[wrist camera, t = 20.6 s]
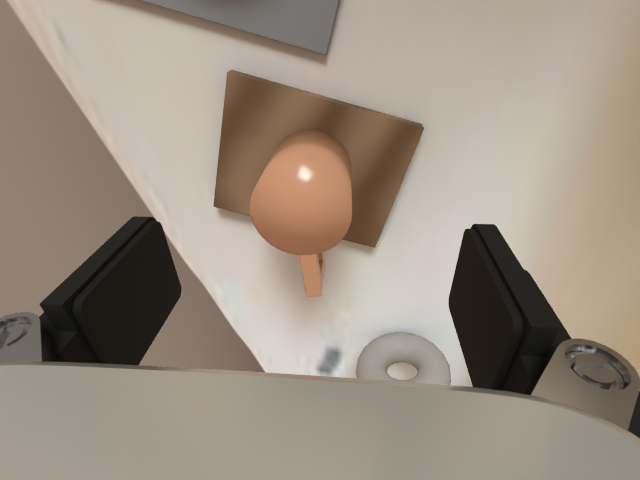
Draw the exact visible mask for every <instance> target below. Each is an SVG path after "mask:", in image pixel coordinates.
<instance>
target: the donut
mask: <svg viewBox="0 0 640 480" xmlns="http://www.w3.org/2000/svg"><path fill="white" fill-rule="evenodd" d="M398 362H405V363H409V364H411V365H413V366H414V367H416V369H417V370H418V374H417V376H416V377H414V378H412V379H410V380H397V379H394V378H392V377H391V376H389V375H388V373H387V368H388V367H389V366H390V365H392V364H394V363H398ZM356 374H357V379H371V380H386V381H401V382H415V383H427V384H439V385H450V383H451V376H450V367H449V364H448V362H447V360H446V358H445V356H444V354H443V353H442V352H441V351H440V350H439V349H438V348H437V347H436V346H435V345H434V344H433V343H432V342H430V341H428V340H427V339H425V338H423V337H421V336H417V335H414V334H411V333H398V332H396V333H391V334H385V335H382V336H380V337H378V338H376V339H374V340H373V341H371V342H370V343H369V344H368V345H367V346H365V348H364V349H363V351H362V353H361V354H360V356H359V358H358V363H357V369H356Z"/></svg>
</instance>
